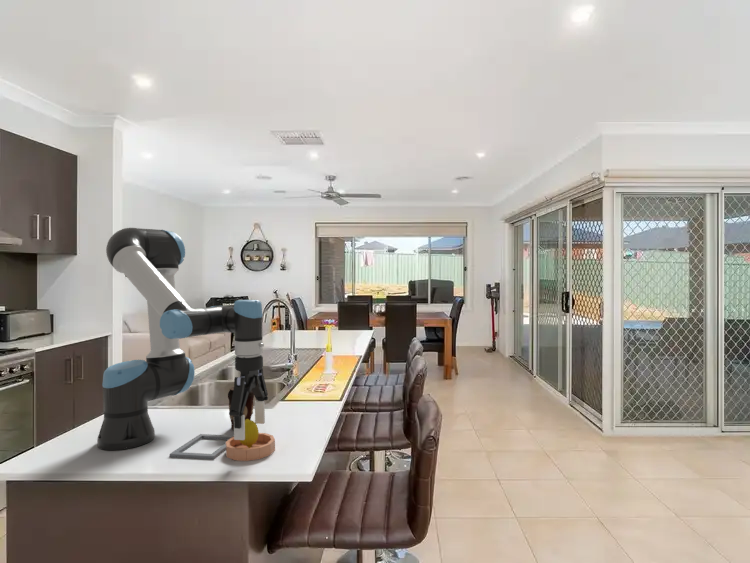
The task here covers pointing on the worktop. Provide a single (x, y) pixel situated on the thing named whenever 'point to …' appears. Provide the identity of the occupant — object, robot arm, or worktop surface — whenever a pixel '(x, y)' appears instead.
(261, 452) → the bowl
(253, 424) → the lemon
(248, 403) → the coffee cup
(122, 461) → the worktop surface
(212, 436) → the gray rectangular frame
